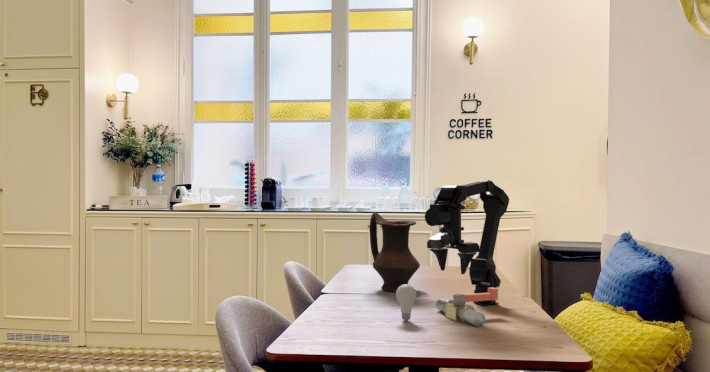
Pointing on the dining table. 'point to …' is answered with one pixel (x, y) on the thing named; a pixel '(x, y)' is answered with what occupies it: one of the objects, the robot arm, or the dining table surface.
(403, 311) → the lightbulb
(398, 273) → the jug
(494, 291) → the lever
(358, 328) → the dining table surface
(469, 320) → the valve
